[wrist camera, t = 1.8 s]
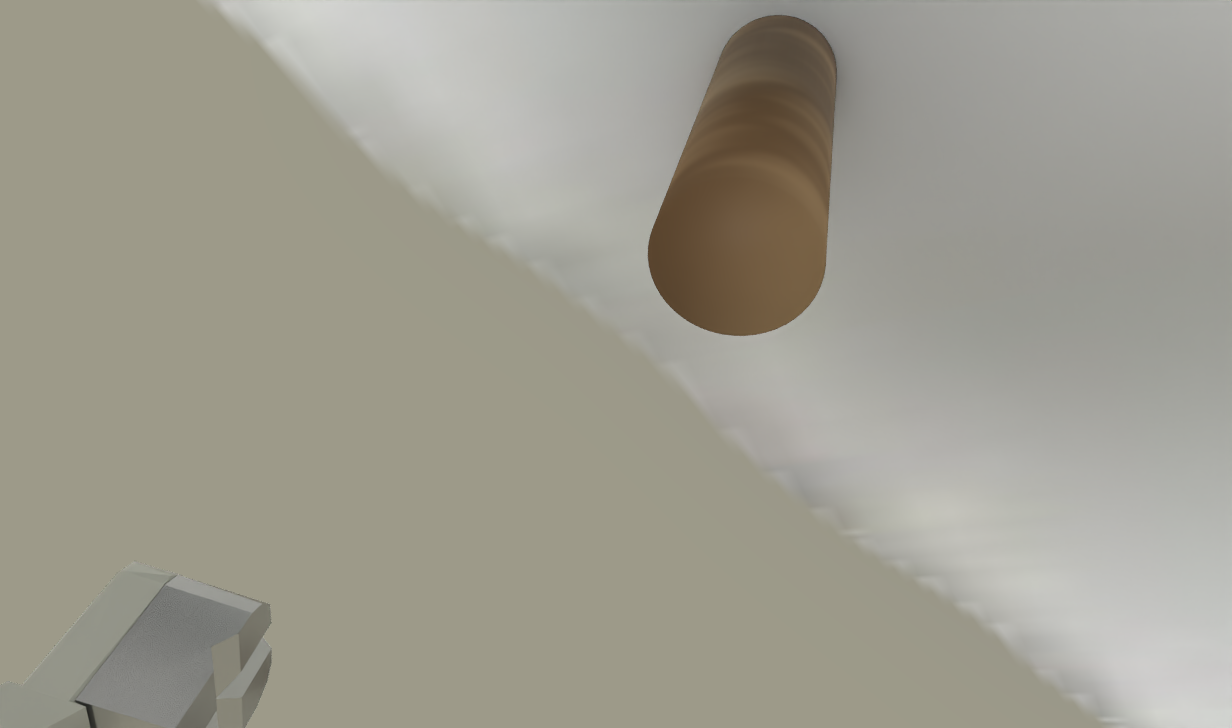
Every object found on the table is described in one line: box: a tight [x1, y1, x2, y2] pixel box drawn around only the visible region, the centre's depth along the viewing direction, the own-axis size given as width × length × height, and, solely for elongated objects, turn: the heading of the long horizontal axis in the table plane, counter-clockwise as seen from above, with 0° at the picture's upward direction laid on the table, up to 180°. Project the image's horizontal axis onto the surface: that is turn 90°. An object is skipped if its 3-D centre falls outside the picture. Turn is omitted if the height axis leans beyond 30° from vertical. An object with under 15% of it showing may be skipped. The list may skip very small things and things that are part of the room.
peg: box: [648, 15, 837, 336], centre depth 24 cm, size 4×4×12 cm
